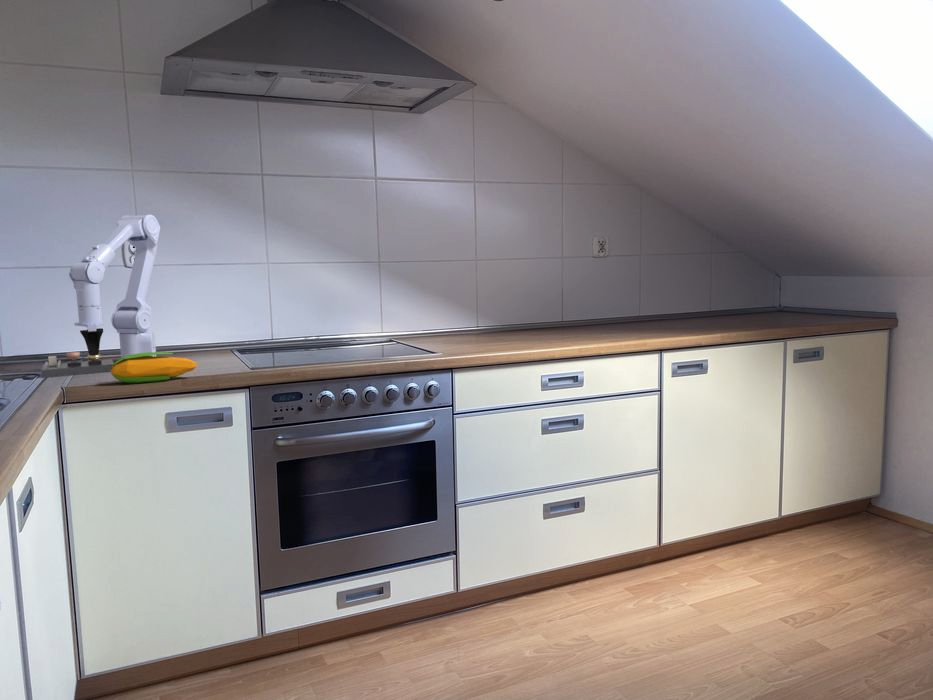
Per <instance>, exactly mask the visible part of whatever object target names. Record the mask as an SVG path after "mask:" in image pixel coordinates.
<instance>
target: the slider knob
mask: <svg viewBox="0 0 933 700" xmlns="http://www.w3.org/2000/svg"><path fill="white" fill-rule="evenodd" d="M48 364H49V365H57V364H58V359H57V355H51V356H49V355H48Z"/></svg>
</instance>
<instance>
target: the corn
mask: <svg viewBox="0 0 933 700" xmlns="http://www.w3.org/2000/svg"><path fill="white" fill-rule="evenodd" d="M173 354H174V353H173V352H159V351H158V352H157V351H156V352H148V353H138V354H132V355H128V356H124V357H123V358H119V359H118V360H116V361H114V362H113V363H114V364H113V366H112V367H111V372H110V374H111V376H112V377H113V378H114V379H115V380H117V381H119V382H123V383H127V384H142V383H143V384H144V383H155V382H164V381H168V380H171V378H170V377H173V378H175V377H179V376H182V375H184V374H186V373H189V372H191V371H194V370H195V369H196V368H197V367H198V363H197V362H195V361H193V360H191V359H189V358H184V357H173V356H157V355H173ZM148 355H156V357H154V356H148Z"/></svg>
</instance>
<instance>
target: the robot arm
mask: <svg viewBox="0 0 933 700" xmlns="http://www.w3.org/2000/svg"><path fill="white" fill-rule="evenodd" d="M160 231H161V226H160V224H159V221H158V219H157V218H156V217H155V216H154V215H152V214H146V215H143V214H142V215H141V214H140V215H123V216H122V217H121V218H120V219H119V220H118V221H116V227H115V228H114V230H113V231H112V232H111V234H110V235H109V236H108V238H107V239H106V240H105V242H104V243H97V244H94V245H93V246H92V247H91V248H92V249H91V250H90V252H88V254H87V255H86V256H84V257H83V258H82V260H81V261H80V262H75V263H74V264H73V265H72V266H71V268H70V271H69V272H68V276H69V279H70V281H72V283H73V288H74V289H75V293H76V302H77V303H76V304H77V313H78V322H74V323H73V325H74V326H75V327H76V326H77V327H84V328H87V329H82V330H80V332H79V333H80V334H81V336H82V337H83V340H84V341H85V345H86V349H87V352H88V355H90V356H91V355H98V354H100V344H101V340H102V339H101V338H102V335H103V333H104V328H99V326H104V321H103V313H102V311H103V308H102V301H101V290H100V289H101V288H100V283H101V281H103V279H104V276H105V272H106V269H107V267H109V266H110V265H111V264H112V262H113V261H114V260H115V258H116V253H115V252H117V250H119V249H120V247H122V246H123V245H124V244H125V243H126V242H127V241H128V242H129V243H130V245H131V246H133V247H135V249H136V251H135V254H134V260H133V263H132V266H131V267H132V268H131V272H130V277H129V281H128V285H127V289H126V295H125V297H124V299H123V300H121V301H120V302H119V303H117V304H116V308H115V310H114V312H113V313H112V315H111V325H112V327H113V328H114V329H115V330H116V333H118V335H119V347H120V348H119V349H120V357H121V358H123V357H124V356H128V355H132V354H138V353H148V352H157V348H156V338H155V337H156V336H155V333H154V332H153V331H149V329H150V327H151V324H152V310H153V309H152V307H150V305H149V304H148V303H147V302H146V300H147V296H148V292H149V288H150V287H149V286H150V281H151V277H152V273H153V269H154V265H155V260H156V256H157V251H158V241H159V238H160V237H159V236H160ZM97 327H98V328H97ZM148 356H154V357H157V355H148ZM121 358H120V359H121Z"/></svg>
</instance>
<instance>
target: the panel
mask: <svg viewBox="0 0 933 700" xmlns="http://www.w3.org/2000/svg"><path fill="white" fill-rule="evenodd" d="M114 363H115V362H114V361H113V359H111V358H109V359H102V358H101V359H98V360H96V361H93V360H88V359H87V361H85V360H84V361H82V360H71V361H67V362H63V363H62V360H57V365H49V360H48V361H45V363H44V364H42V367H41V377H42V378H43V379H44V378H53V377H54V378H56V377H67V376H75V375H76V376H77V375H87V374H88V375H89V374H100V373H99V372H102V373H111V367H112V366H113V364H114Z"/></svg>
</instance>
